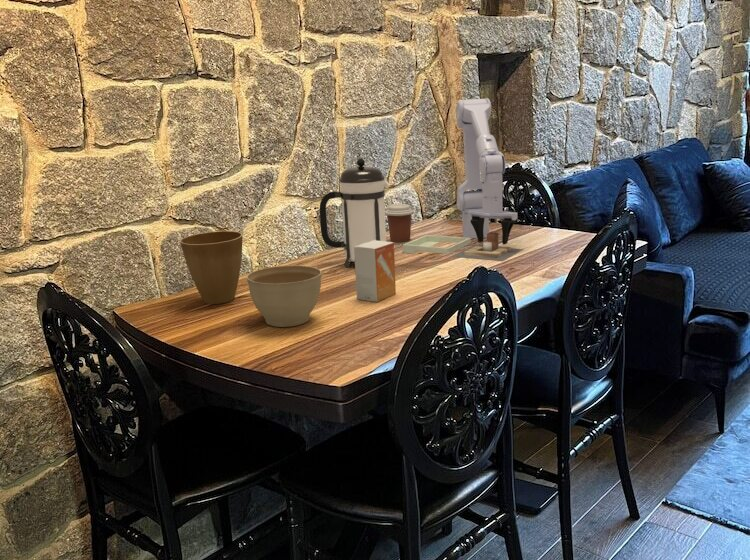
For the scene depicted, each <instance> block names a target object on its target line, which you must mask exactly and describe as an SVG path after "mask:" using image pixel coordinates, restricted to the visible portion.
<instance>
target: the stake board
mask: <svg viewBox="0 0 750 560" xmlns="http://www.w3.org/2000/svg"><path fill="white" fill-rule="evenodd" d="M482 245H483V251H487V252H493V251H492V242H487V241H483V244H482ZM475 246H477V245H475V244H474V245H471V246H470V247H467V248H464V249H463V250H461V251H459V252H457V253H455V254H453V255H451V256H450V258H458V259H459V258H461V259H473V260H483V261H494V262H504V261H506V260H508V259H510V258H511V257H513V256H515V255H517V254H518V253H520V252H521V251H524V248H514V247H510V251H509V252H507V253H505V254H503V255H501V256H500V257H498V258H491V257H480V256H468V255H465V254H464V252H465V251H467V250H469V249H471V248H473V247H475Z"/></svg>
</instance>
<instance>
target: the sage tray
mask: <svg viewBox="0 0 750 560" xmlns="http://www.w3.org/2000/svg"><path fill="white" fill-rule="evenodd" d="M441 242H446V243H455V244H453V245H451V246H448V247H442V246H434V245H436V244H439V243H441ZM470 244H472V238H465V237H463V236H462V237H459V236H446V235H434V234H426V235H425V234H424V235H423V236H420V237H417V238H416V239H414V240H410V242H408V243H405V244H403V245H402V248H401V249H402V254H410V253H411V254H412V255H413V254H416V253H418V252H425V253H436V254H446V255H448V254H449V255H450V254H451V253H453V252H456V251H457V250H460V249H462V248H464V247H465V246H468V245H470Z"/></svg>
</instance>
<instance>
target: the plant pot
mask: <svg viewBox="0 0 750 560" xmlns="http://www.w3.org/2000/svg"><path fill="white" fill-rule="evenodd" d="M179 244H180V247H181V251H182V254H183V258H184V260H185V264H186V266H187V269H188V271H189V273H190V276H191V278H192V281H193V283H194V286H195V287H196V289H197V292H198V293H199V295H200V296H201V298H202V300H203V302H204V303H205V304H206V305H207V304H208V305H219V304H226V303H229V302H232V301H233V300H234V299H235V297H236V292H237V289H238V285H239V280H240V273H241V268H242V267H241V265H242V257H243V233H242V232H240V231H234V230H218V231H208V232H201V233H195V234H192V235H191V234H190V235H188V236H185V237H183V238H181V239H180V240H179Z"/></svg>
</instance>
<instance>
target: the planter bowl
mask: <svg viewBox="0 0 750 560" xmlns="http://www.w3.org/2000/svg"><path fill="white" fill-rule="evenodd" d="M246 282H247V284H248V290H249V294H250V297H251V300H252V302H253V304H254V306H255V307H256V309H257V311H258V312H259V313H260V314H261V316H263V317H264V320H265V323H266V324H267V325H269V326H272V327H277V328H289V327H295V326H300V325H303V324H305V323H307V322H308V321H309V320H310V314H311V313H312V312H313V310H314V308H315V306H316V305H317V302H318V300H319V298H320V294H321V293H320V292H321V285H322V270H320V269H319V268H317V267H313V266H308V265H277V266H269V267H265V268H262V269H257V270H254V271H252V272H250V273H248V274H247V275H246Z"/></svg>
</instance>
